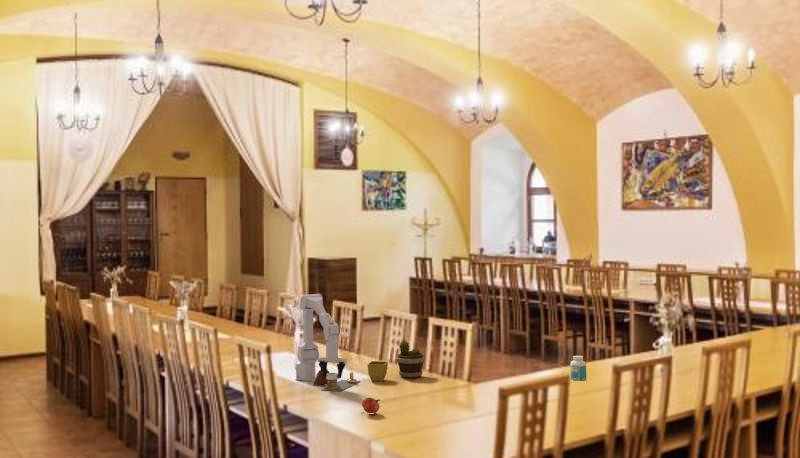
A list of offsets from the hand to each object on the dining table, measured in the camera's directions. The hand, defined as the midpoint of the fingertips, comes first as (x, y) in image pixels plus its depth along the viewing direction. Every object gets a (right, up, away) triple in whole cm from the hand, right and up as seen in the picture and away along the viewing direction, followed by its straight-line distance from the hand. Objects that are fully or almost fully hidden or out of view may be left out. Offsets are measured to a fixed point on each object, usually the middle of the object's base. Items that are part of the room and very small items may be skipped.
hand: (332, 377), depth 382 cm
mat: (+4, -5, +6) cm, 9 cm away
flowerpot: (+38, -5, +26) cm, 46 cm away
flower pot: (+21, -5, +18) cm, 28 cm away
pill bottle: (+118, -4, +3) cm, 119 cm away
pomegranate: (+20, -6, -52) cm, 56 cm away
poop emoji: (-5, -6, +11) cm, 14 cm away
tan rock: (0, -5, 0) cm, 5 cm away
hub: (+8, -5, +12) cm, 15 cm away
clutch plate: (0, 0, 0) cm, 0 cm away
